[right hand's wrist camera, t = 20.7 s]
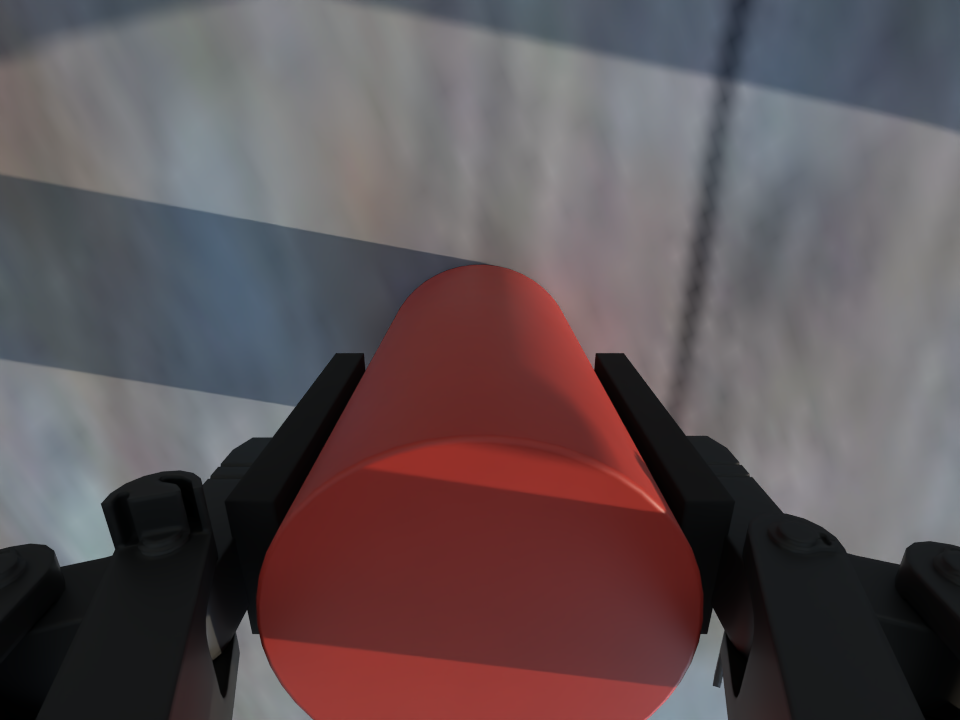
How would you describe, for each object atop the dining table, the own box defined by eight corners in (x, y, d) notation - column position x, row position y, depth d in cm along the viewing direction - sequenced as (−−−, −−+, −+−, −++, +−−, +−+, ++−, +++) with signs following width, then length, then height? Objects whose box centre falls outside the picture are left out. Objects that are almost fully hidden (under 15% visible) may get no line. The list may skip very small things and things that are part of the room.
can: (592, 283, 17) (778, 482, 6) (547, 448, 19) (631, 799, 8) (401, 247, 16) (261, 396, 6) (378, 420, 19) (247, 752, 8)
